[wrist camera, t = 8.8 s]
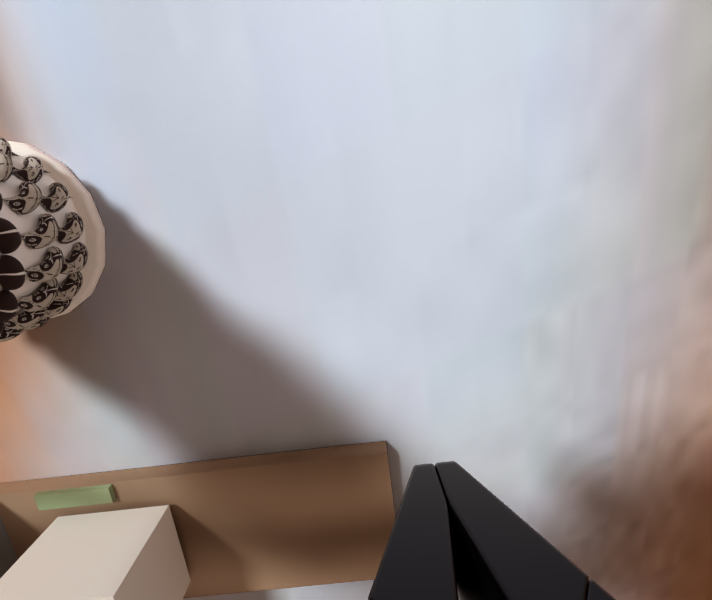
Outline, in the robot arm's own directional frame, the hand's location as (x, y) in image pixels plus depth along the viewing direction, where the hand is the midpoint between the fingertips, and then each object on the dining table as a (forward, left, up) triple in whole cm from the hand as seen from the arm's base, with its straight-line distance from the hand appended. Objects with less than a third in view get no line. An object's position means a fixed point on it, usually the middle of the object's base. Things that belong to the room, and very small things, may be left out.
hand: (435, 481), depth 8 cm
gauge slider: (-12, +16, -11) cm, 23 cm away
